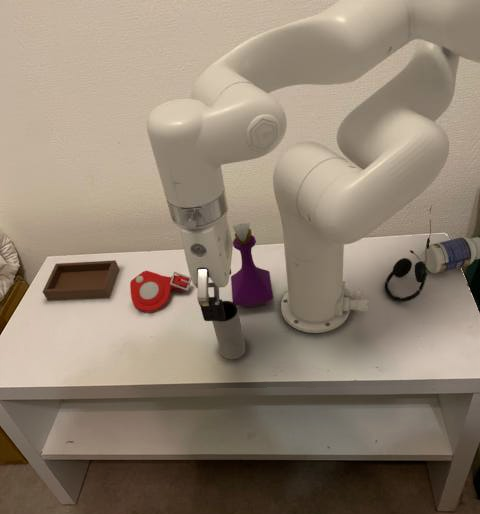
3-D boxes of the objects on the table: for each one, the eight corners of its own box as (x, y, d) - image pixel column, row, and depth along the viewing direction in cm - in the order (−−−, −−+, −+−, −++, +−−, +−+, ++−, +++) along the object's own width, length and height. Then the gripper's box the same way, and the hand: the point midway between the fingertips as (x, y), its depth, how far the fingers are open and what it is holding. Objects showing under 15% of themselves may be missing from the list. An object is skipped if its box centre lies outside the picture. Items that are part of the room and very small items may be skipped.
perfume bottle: (233, 288, 95) (218, 213, 82) (270, 283, 95) (261, 206, 81) (235, 315, 90) (219, 241, 77) (274, 310, 90) (265, 234, 76)
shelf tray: (119, 269, 104) (115, 260, 102) (109, 297, 98) (105, 288, 96) (60, 272, 106) (55, 263, 104) (47, 300, 100) (42, 291, 98)
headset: (455, 191, 83) (403, 291, 80) (465, 215, 88) (416, 309, 86) (418, 187, 87) (368, 281, 85) (430, 210, 93) (382, 299, 90)
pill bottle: (439, 272, 86) (491, 260, 87) (433, 243, 86) (484, 231, 87) (426, 275, 92) (474, 263, 92) (420, 247, 92) (468, 236, 92)
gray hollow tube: (228, 336, 87) (219, 297, 79) (250, 344, 85) (243, 305, 77) (215, 354, 85) (204, 316, 77) (237, 363, 83) (228, 324, 75)
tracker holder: (143, 318, 91) (116, 283, 95) (151, 326, 95) (125, 293, 99) (193, 278, 93) (164, 246, 97) (199, 288, 97) (171, 257, 101)
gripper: (219, 244, 56) (238, 338, 68) (232, 164, 67) (246, 257, 80) (156, 248, 57) (186, 339, 69) (179, 168, 68) (201, 259, 81)
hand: (218, 296), depth 74 cm, fingers open, 9 cm apart
